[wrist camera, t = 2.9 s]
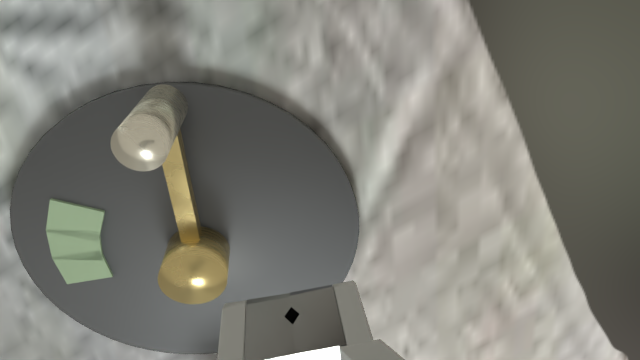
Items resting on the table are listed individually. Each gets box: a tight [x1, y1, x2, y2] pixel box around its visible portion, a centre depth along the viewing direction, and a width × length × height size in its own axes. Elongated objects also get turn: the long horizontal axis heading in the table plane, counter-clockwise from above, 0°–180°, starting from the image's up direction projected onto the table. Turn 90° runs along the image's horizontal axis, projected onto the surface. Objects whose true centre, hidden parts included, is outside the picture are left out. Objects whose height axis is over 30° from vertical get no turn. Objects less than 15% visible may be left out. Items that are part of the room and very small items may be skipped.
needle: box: [110, 84, 230, 304], centre depth 23 cm, size 14×4×6 cm, turn 1°
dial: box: [10, 82, 359, 354], centre depth 28 cm, size 24×24×1 cm
